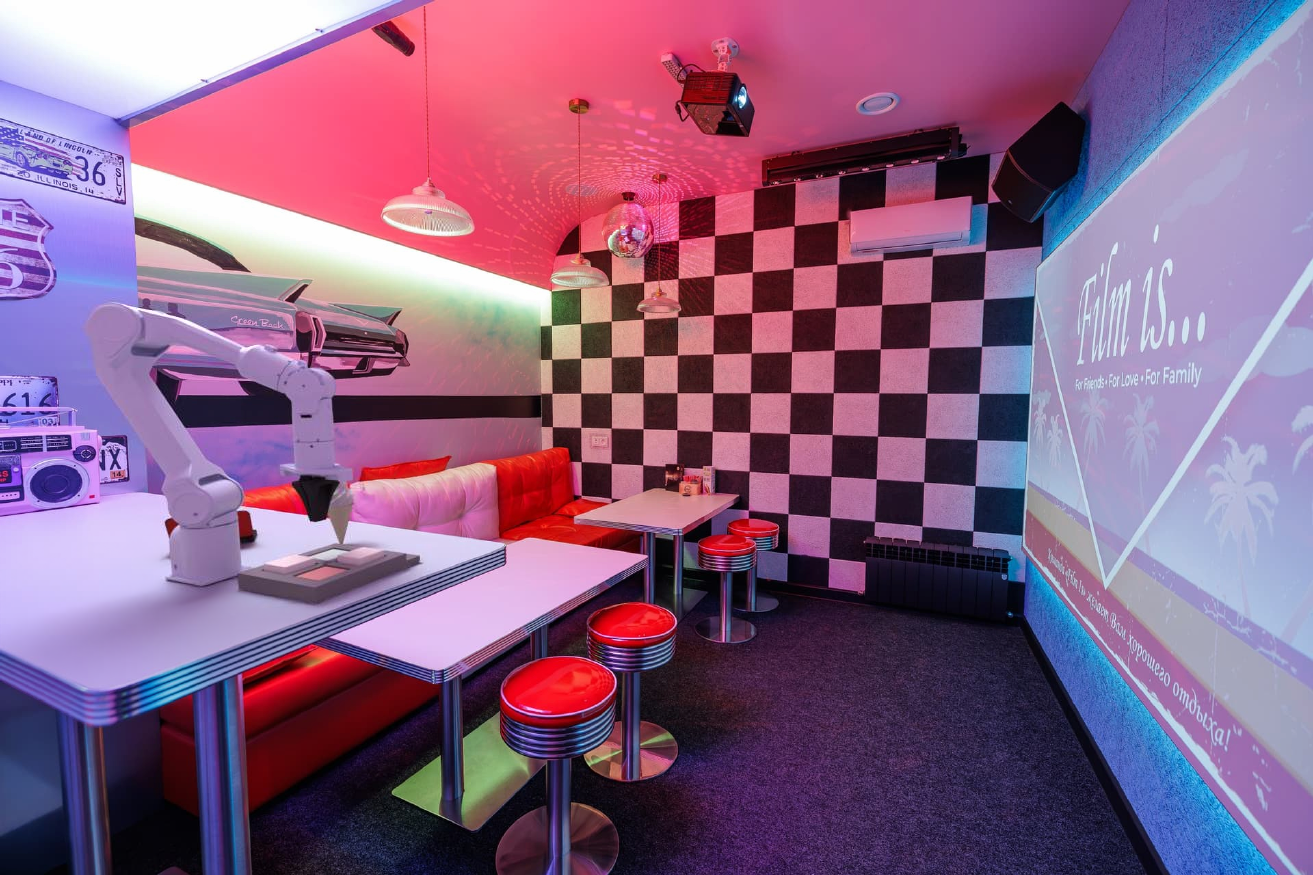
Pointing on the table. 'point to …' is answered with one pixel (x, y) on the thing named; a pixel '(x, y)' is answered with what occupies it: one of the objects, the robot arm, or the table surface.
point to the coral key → (321, 573)
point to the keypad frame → (328, 586)
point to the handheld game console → (243, 522)
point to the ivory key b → (360, 556)
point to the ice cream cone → (341, 510)
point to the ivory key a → (289, 564)
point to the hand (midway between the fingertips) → (318, 520)
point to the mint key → (328, 554)
